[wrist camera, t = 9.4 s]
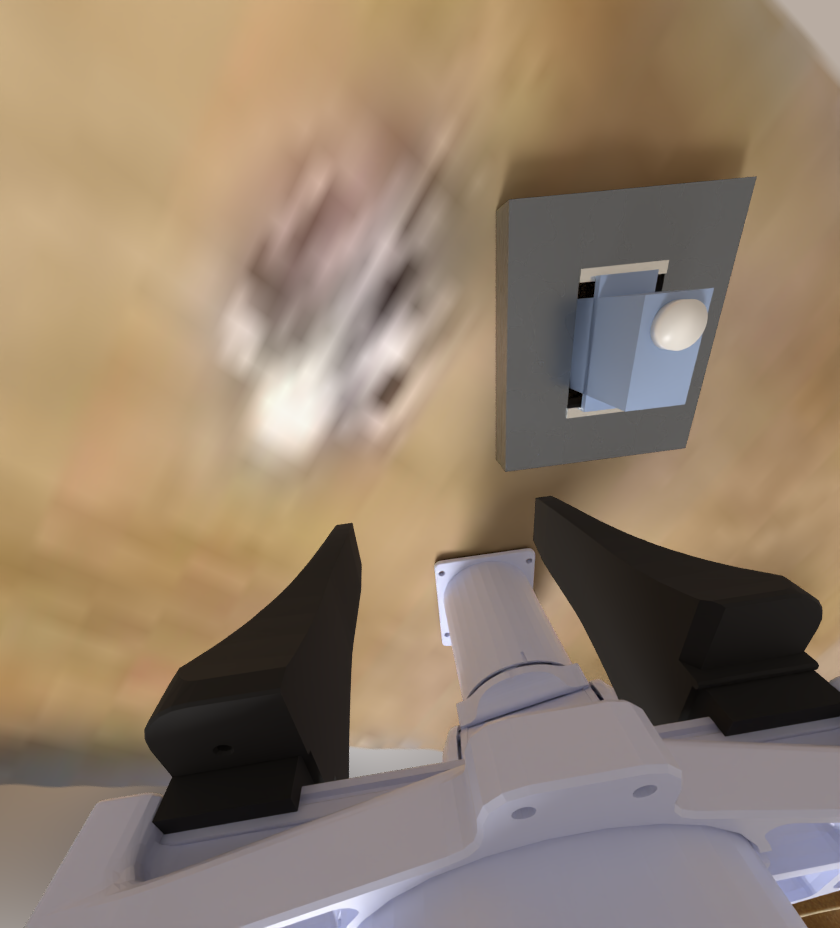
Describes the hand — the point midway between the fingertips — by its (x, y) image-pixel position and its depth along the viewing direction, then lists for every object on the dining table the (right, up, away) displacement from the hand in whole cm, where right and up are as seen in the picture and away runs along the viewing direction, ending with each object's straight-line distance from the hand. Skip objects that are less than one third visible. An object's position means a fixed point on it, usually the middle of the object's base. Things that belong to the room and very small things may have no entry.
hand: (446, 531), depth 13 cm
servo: (+9, +10, +7) cm, 16 cm away
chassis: (+9, +10, +7) cm, 16 cm away
